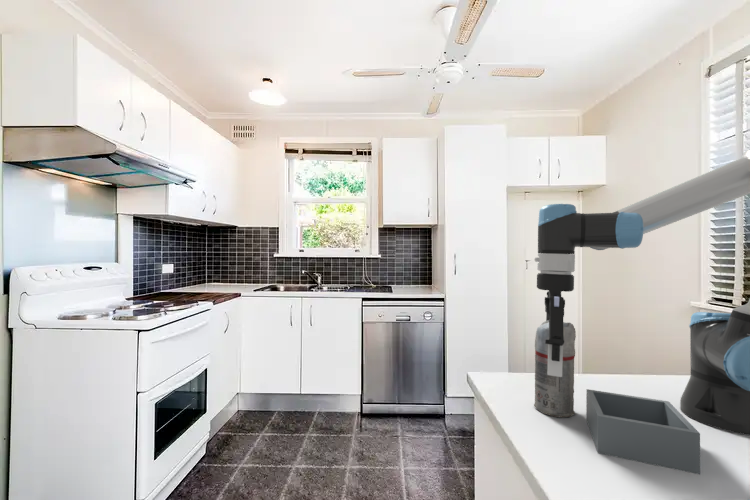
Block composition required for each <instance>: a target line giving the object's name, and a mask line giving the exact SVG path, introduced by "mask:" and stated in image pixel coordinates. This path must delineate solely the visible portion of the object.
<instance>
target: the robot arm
mask: <svg viewBox="0 0 750 500" xmlns="http://www.w3.org/2000/svg"><path fill="white" fill-rule="evenodd" d="M747 195H750V149H748V150H745V151H744V152H743V153H742V155H741V158H738V159H736V160H733V161H731V162H729V163H726V164H724V165H722V166H720V167H718V168H715V169H713V170H712V169H711V170H710V171H708V172H705V173H703V174H701V175H698V176H696V177H694V178H691V179H689V180H687V181H684V182H682V183H680V184H678V185H675V186H673V187H670V188H668V189H665V190H662V191H661V192H658V193H656V194H654V195H652V196H649V197H646V198H644V199H641V200H639V201H636V202H634V203H632V204H630V205H628V206H625V207H622V208H620V209H617V210H615V211H613V212H598V213H594V212H593V213H582V212H581V213H580V212H578V211H577V207H576V206H575V205H574V204H571V203H554V204H553V203H552V204H546V205H543V206H542V207H541V208H540V209H539V210H538V212H539V213H538V223H537V257H535V258H534V262H536V263H537V270H538V271H539V272H538V273H537V274H536V288H537V289H538V290H542V291H547V292H546V296H545V297H544V307H545V308H544V311H545V313H546V314H545V315H546V318H545V321H548V320H549V340H545V344H548V371H547V374H548V375H551V376H558V377H562V363H563V344H564V333H563V322H564V318H565V306H566V299H565V298H564V297H563V296H562V292H568V293H569V292H572V291H574V290H575V276H574V275H573V274H572V273H574V272H575V270H576V269H575V266H576V265H575V264H576V253H575V252H576V251H575V249H576V248H590V249H593V250H596V251H604V250H606V249H610V248H611V249H620V250H621V249H635V248H638V247H640V246H641V244H642V242H643V236H644V235H645V234H648V233H651V232H653V231H655V230H658V229H661V228H663V227H666V226H669V225H671V224H674V223H676V222H679V221H681V220H684V219H686V218H690V217H692V216H695V215H697V214H700V213H703V212H705V211H707V210H710V209H713V208H715V207H718V206H721V205H725V203H729V202H731V201H735V200H736V199H739V198H742V197H745V196H747ZM688 327H689V329H690V332H689V335H690V336H689V339H690V340H689V341H690V345H689V346H690V351H689V352H690V376H689V379H688V382H687V384H686V386H685V388H684V391H683V392H682V395H681V396H680V402H679V405H680V407H679V409H680V411H681V412H682V413H683V414H684V415H686V416H687V417H689V418H691V419H693V420H695V421H697V422H700V423H702V424H704V425H707V426H711V427H712V428H713V427H714V428H717V429H721V430H723V431H728V432H732V433H735V434H740V435H747V436H750V298H749V299H748V302H747V303H745V304H743V305H741V306H740V305H739V306H737V307H735V308H734V307H733V308H732V310H731V313H727V312H708V311H707V312H706V311H696V312H693V313H692V315H691V316H690V323H689V324H688Z"/></svg>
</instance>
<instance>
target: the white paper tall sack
mask: <svg viewBox="0 0 750 500" xmlns="http://www.w3.org/2000/svg"><path fill="white" fill-rule="evenodd" d="M563 333H564V344H563V363H562V377H558V376H551V375H548V374H547V371H548V344H545V340H549V320H548V321H546V320H545V321H542V322H541V324H540V325H539V326H538V327H537V328H536V332H535V336H534V337H535V338H534V350H535V351H534V404H533V407H534V409H536V410H537V411H539V412H540V413H542V414H544V415H547V416H551V417H553V418H570V417H572V416H574V415H575V414H576V412H575V410H574V409H575V408H574V405H575V404H574V403H575V398H574V395H575V389H574V388H575V357H576V347H575V345H576V344H575V343H576V342H575V341H576V338H577V337H576V336H577V335H576V328H575V326H574V324H573V323H571V322H564V321H563Z"/></svg>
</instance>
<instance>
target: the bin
mask: <svg viewBox="0 0 750 500" xmlns="http://www.w3.org/2000/svg"><path fill="white" fill-rule="evenodd" d="M585 402H586V409H585V410H586V416H585V417H586V422H587V425H588V428H589V431H590V434H591V437H592V440H593V443H594V447H595V449H596V452H597V454H602V455H607V456H610V457H615V458H620V459H626V460H629V461H634V462H640V463H642V464H643V463H644V464H648V465H653V466H658V467H663V468H666V469H673V470H678V471H682V472H687V473H692V474H697V475H701V432H699V431H698V430H697V428H696V427H694V426H693V424H692V423H690V422H689V420H688V419H686V417H685V416H684V415H683V414H681V412H680V411H679V410H678V409H677V408H676V407H675V406H674V405H673V404H672V403H671V402H670V401H668V400H663V399H655V398H648V397H641V396H635V395H628V394H621V393H615V392H608V391H601V390H594V389H586V401H585Z"/></svg>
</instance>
